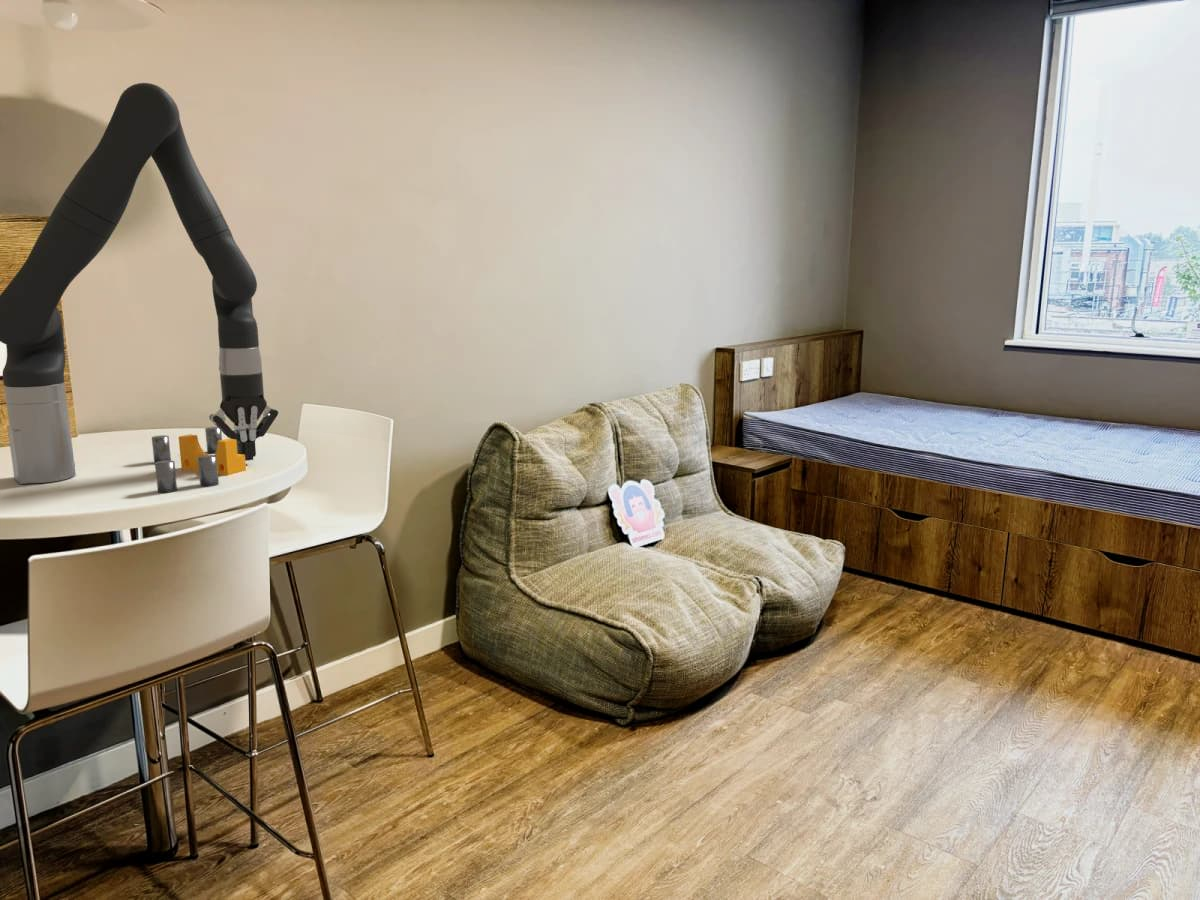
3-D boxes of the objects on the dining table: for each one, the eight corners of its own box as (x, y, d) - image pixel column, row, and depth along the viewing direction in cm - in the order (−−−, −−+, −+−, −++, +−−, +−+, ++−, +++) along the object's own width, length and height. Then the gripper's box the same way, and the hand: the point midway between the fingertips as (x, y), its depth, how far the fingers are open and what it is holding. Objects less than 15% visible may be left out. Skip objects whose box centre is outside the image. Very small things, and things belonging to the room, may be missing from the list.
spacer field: (160, 493, 153) (157, 465, 152) (114, 463, 176) (112, 438, 175) (293, 473, 168) (291, 447, 167) (234, 448, 191) (232, 424, 190)
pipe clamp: (246, 471, 170) (243, 437, 169) (228, 476, 166) (225, 441, 165) (200, 465, 175) (197, 432, 174) (181, 470, 171) (178, 436, 170)
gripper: (211, 375, 165) (219, 467, 168) (282, 370, 173) (288, 458, 177) (198, 371, 170) (206, 461, 174) (268, 366, 179) (274, 452, 182)
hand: (247, 459), depth 175 cm, fingers closed
